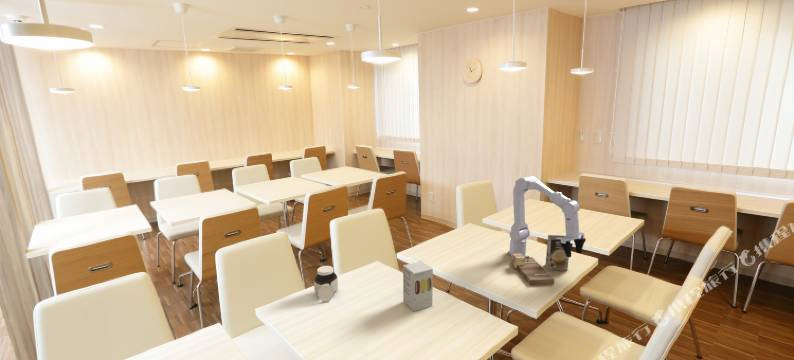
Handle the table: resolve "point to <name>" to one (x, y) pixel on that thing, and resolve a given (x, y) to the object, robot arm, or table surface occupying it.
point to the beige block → (518, 259)
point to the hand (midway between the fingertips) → (573, 254)
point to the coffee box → (556, 254)
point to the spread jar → (325, 283)
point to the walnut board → (534, 273)
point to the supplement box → (417, 285)
